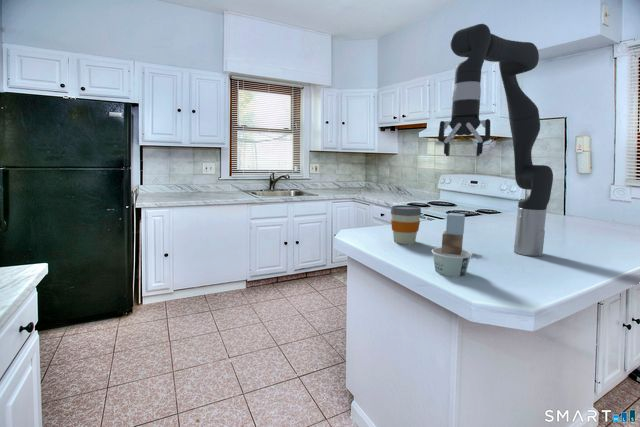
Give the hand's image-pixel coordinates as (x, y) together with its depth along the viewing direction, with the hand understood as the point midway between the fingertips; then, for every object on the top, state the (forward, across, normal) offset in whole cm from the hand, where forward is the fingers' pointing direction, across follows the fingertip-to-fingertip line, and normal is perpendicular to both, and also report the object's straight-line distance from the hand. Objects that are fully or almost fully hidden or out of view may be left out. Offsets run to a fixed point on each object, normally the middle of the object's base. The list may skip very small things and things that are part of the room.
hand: (462, 156), depth 106 cm
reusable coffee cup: (+36, +25, -33) cm, 55 cm away
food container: (+36, +1, 0) cm, 36 cm away
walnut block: (+30, +1, 0) cm, 30 cm away
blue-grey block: (+24, +1, 0) cm, 24 cm away
